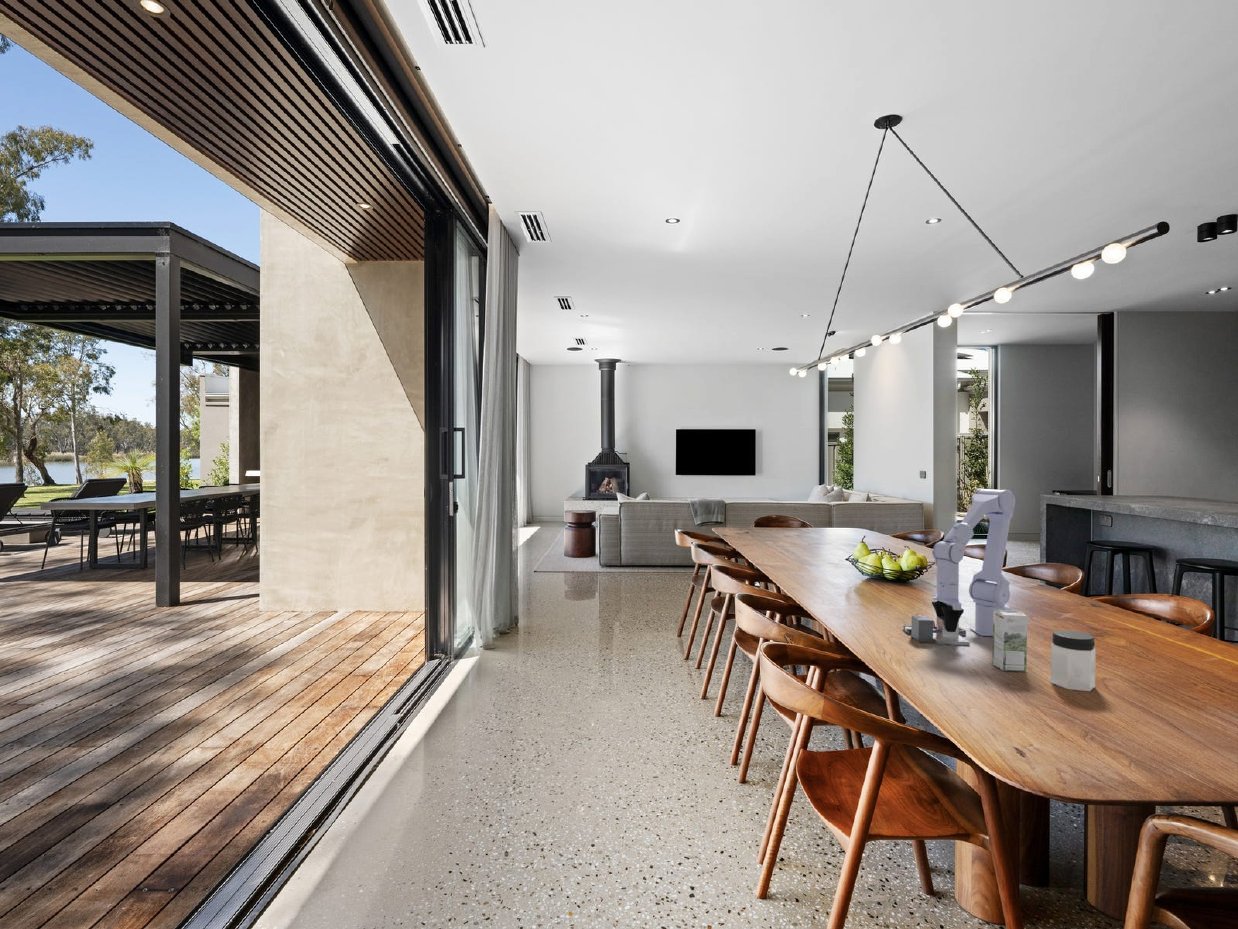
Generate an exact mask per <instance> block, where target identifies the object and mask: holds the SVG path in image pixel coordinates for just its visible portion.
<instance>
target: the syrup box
mask: <svg viewBox="0 0 1238 929" xmlns="http://www.w3.org/2000/svg"><path fill="white" fill-rule="evenodd" d="M1028 619H1029V616H1027V614H1025V613H1023V611H1020V610H1016V609H1015V610H1014V609H1011V610H994V612H993V636H992V658H991V659H992V660H991V661H992V664H994V665H993V666H995V668H996V667H997V668H998V667H999V668H1000V669H999V668H998V669H999V670H1001V671H1003V672H1020V673H1021V672H1025V673H1026V672H1027V659H1028V658H1027V657H1028V656H1027V654H1028V653H1027V652H1028V621H1029V620H1028Z"/></svg>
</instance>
